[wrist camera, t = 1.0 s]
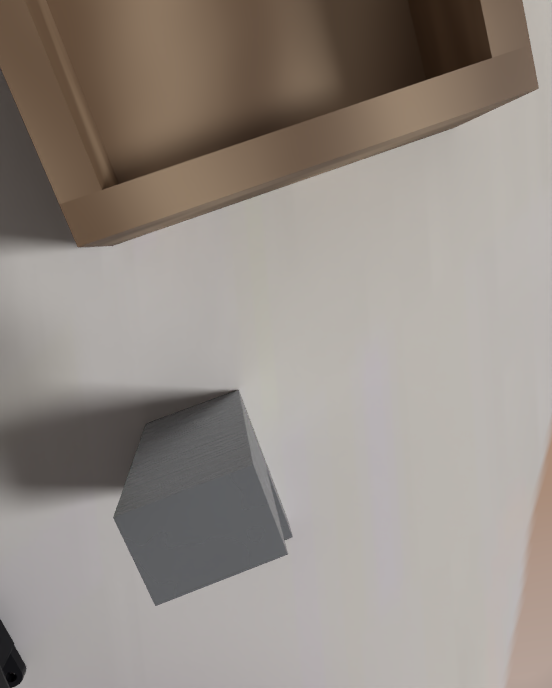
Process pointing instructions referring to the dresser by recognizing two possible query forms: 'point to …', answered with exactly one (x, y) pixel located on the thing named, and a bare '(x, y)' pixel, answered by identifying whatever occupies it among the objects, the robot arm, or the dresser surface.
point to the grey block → (200, 500)
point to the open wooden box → (241, 94)
